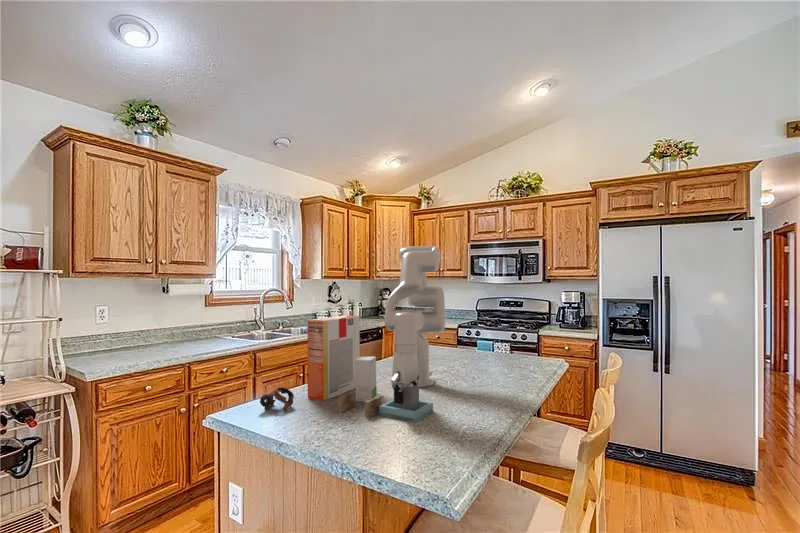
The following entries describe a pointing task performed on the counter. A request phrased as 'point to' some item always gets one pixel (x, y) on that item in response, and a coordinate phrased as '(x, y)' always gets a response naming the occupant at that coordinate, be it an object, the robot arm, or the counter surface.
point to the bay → (350, 401)
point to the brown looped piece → (278, 397)
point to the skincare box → (365, 378)
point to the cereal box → (332, 355)
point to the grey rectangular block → (409, 397)
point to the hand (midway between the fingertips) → (406, 399)
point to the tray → (406, 411)
